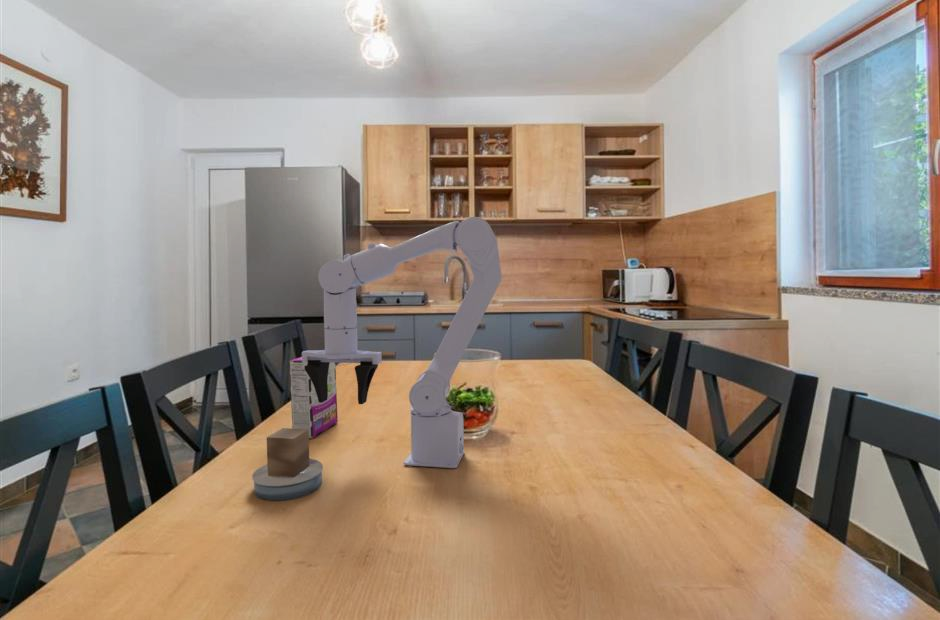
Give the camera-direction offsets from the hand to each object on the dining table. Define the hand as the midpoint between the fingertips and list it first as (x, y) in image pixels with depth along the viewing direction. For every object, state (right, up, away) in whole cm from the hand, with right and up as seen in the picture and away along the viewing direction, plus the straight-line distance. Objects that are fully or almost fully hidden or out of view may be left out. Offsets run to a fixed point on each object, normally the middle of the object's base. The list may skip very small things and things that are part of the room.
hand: (342, 402), depth 85 cm
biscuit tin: (-6, -12, -11) cm, 17 cm away
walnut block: (-6, -9, -11) cm, 15 cm away
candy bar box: (-10, -10, +17) cm, 22 cm away
